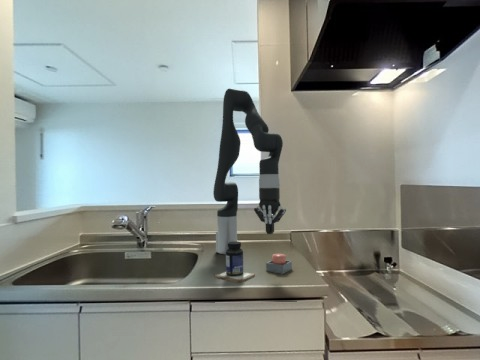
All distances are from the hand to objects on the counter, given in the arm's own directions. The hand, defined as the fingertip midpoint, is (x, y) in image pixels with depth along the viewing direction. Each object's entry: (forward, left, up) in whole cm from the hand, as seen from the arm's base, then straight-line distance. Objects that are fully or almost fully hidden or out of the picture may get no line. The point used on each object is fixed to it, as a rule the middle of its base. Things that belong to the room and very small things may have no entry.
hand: (270, 233), depth 108 cm
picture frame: (-8, -12, -14) cm, 20 cm away
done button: (+2, +3, -12) cm, 13 cm away
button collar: (+2, +3, -14) cm, 14 cm away
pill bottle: (-8, -12, -13) cm, 19 cm away
